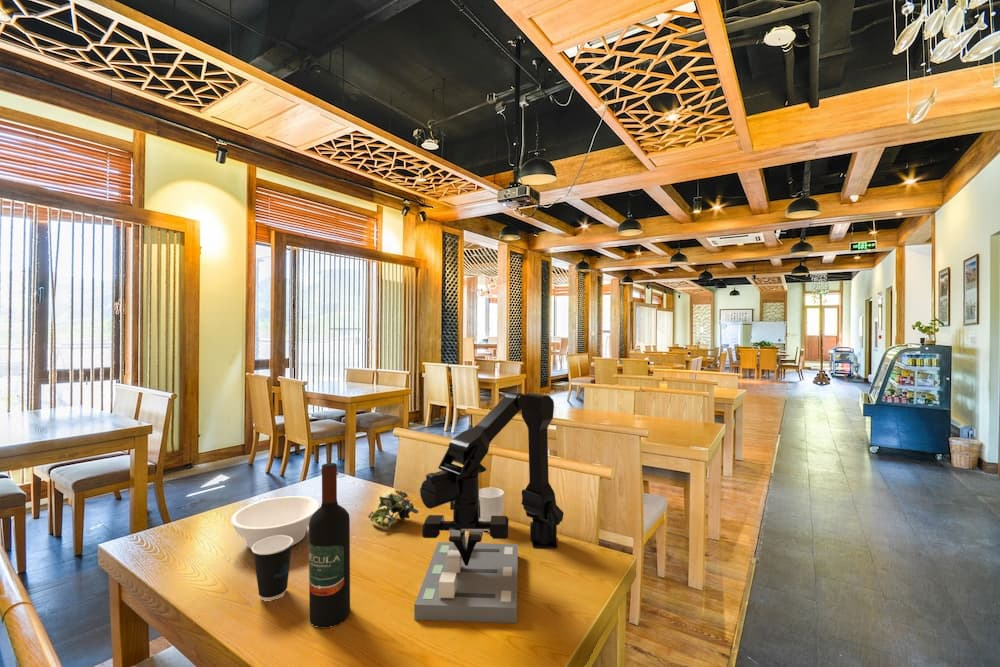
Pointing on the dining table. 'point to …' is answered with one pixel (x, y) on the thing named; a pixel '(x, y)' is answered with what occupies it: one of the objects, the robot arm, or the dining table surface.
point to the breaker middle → (453, 561)
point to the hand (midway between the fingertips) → (466, 564)
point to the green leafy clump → (393, 508)
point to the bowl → (275, 518)
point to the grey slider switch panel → (472, 586)
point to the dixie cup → (272, 565)
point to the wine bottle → (329, 556)
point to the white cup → (490, 503)
